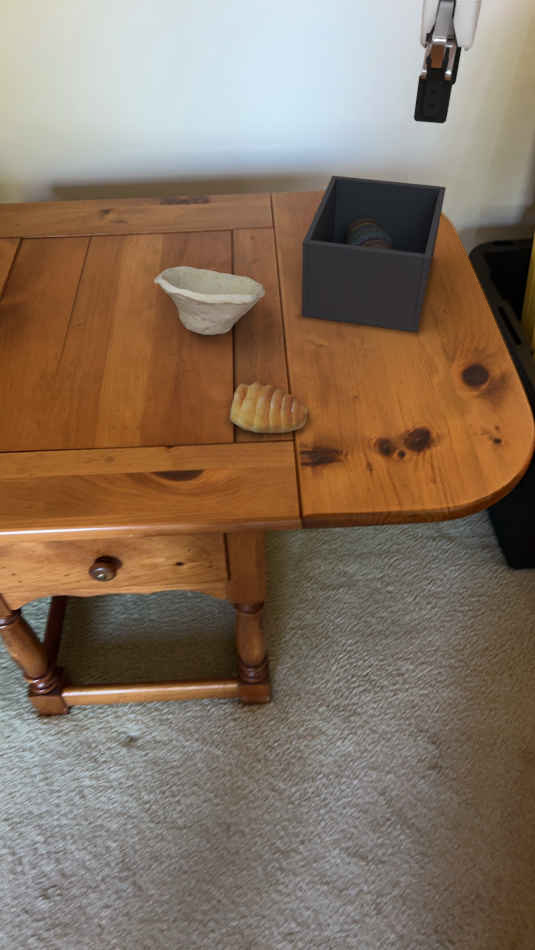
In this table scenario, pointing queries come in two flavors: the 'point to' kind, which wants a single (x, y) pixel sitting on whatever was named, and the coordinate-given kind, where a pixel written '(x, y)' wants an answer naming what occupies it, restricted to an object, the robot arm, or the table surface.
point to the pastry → (267, 409)
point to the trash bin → (371, 253)
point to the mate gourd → (368, 234)
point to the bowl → (209, 297)
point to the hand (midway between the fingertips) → (435, 101)
